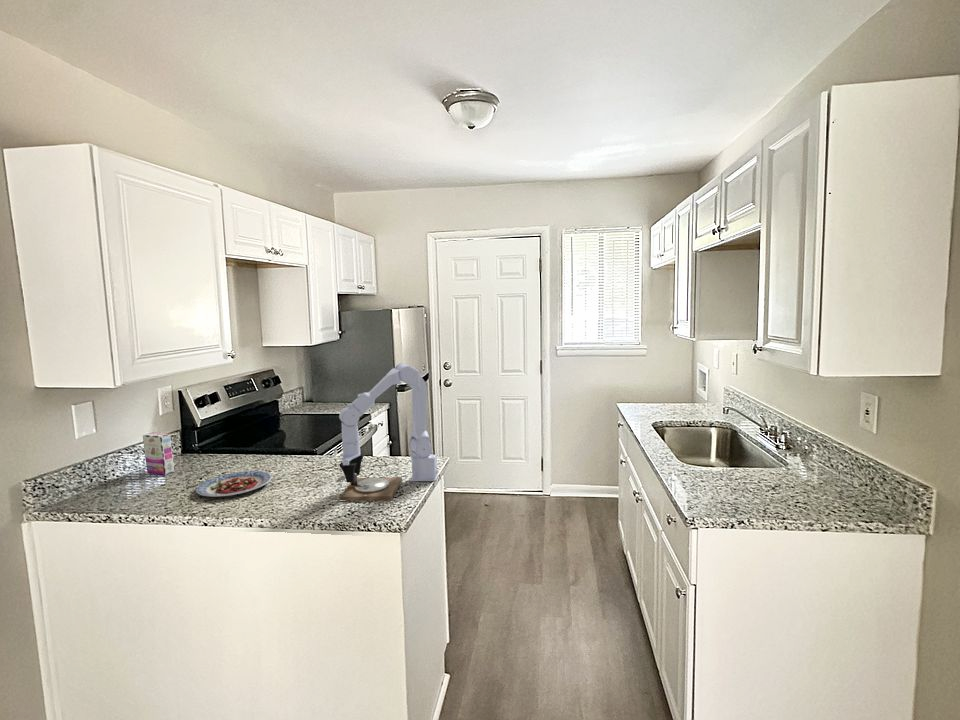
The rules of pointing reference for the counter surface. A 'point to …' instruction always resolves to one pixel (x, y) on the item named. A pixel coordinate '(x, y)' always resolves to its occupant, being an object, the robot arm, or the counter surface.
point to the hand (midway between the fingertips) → (353, 478)
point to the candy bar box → (159, 453)
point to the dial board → (380, 495)
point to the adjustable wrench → (342, 476)
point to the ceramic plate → (233, 483)
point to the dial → (369, 484)
